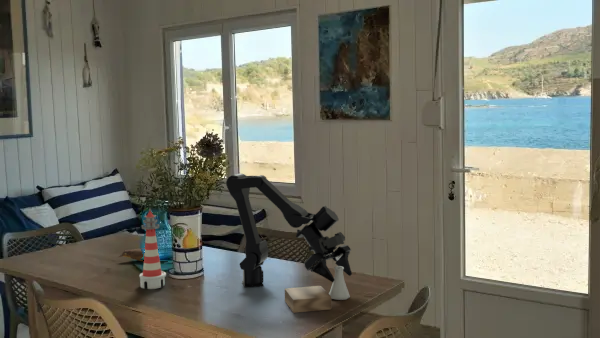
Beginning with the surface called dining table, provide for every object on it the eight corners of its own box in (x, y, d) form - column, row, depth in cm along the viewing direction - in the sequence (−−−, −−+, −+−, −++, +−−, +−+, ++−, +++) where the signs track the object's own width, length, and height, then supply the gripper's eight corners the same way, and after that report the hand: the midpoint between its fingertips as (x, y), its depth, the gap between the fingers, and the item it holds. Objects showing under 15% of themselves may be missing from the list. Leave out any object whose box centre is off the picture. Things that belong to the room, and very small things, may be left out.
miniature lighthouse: (171, 283, 220) (168, 199, 217) (157, 290, 211) (154, 203, 208) (149, 281, 223) (146, 198, 220) (134, 288, 214) (131, 202, 211)
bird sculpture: (180, 260, 252) (180, 248, 251) (117, 264, 247) (116, 252, 246) (180, 256, 258) (180, 245, 258) (118, 260, 253) (118, 248, 253)
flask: (348, 301, 198) (348, 270, 197) (326, 300, 199) (326, 269, 198) (351, 294, 205) (351, 265, 204) (329, 293, 206) (329, 264, 205)
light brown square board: (293, 312, 187) (293, 299, 187) (284, 300, 199) (284, 288, 198) (331, 309, 190) (331, 296, 190) (320, 297, 202) (320, 285, 201)
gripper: (311, 229, 195) (338, 269, 189) (346, 221, 209) (373, 258, 203) (292, 250, 201) (319, 290, 195) (328, 240, 215) (354, 277, 209)
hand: (342, 278), depth 201 cm, fingers open, 9 cm apart
